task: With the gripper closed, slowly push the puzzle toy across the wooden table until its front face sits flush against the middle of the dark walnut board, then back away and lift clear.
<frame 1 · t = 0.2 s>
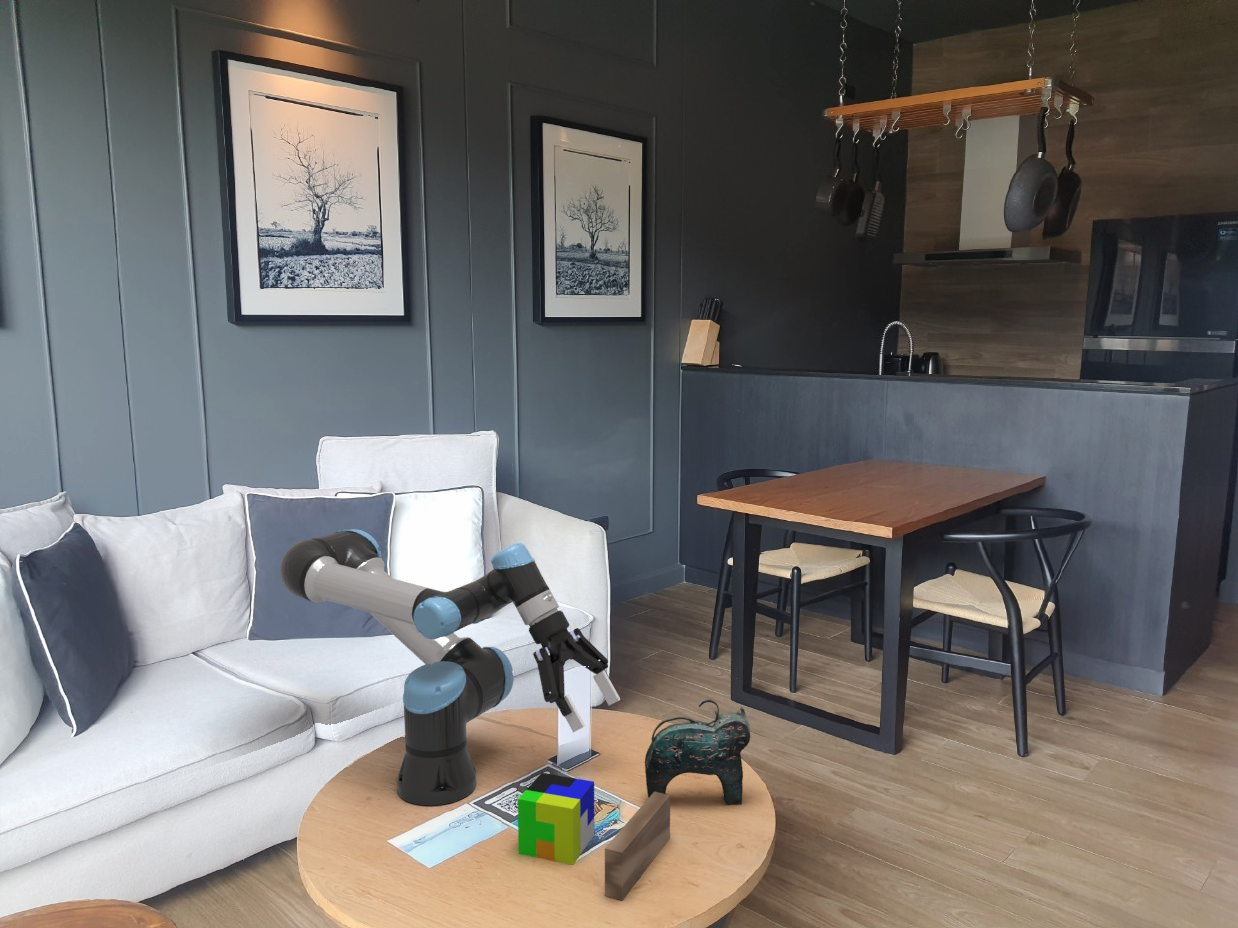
hand: (597, 715, 176), 15 cm above the table, tool tilted 35°, fingers open, 13 cm apart
ceramic cat: (697, 803, 174), on the table
puzzle toy: (557, 845, 159), on the table
walnut board: (639, 865, 153), on the table
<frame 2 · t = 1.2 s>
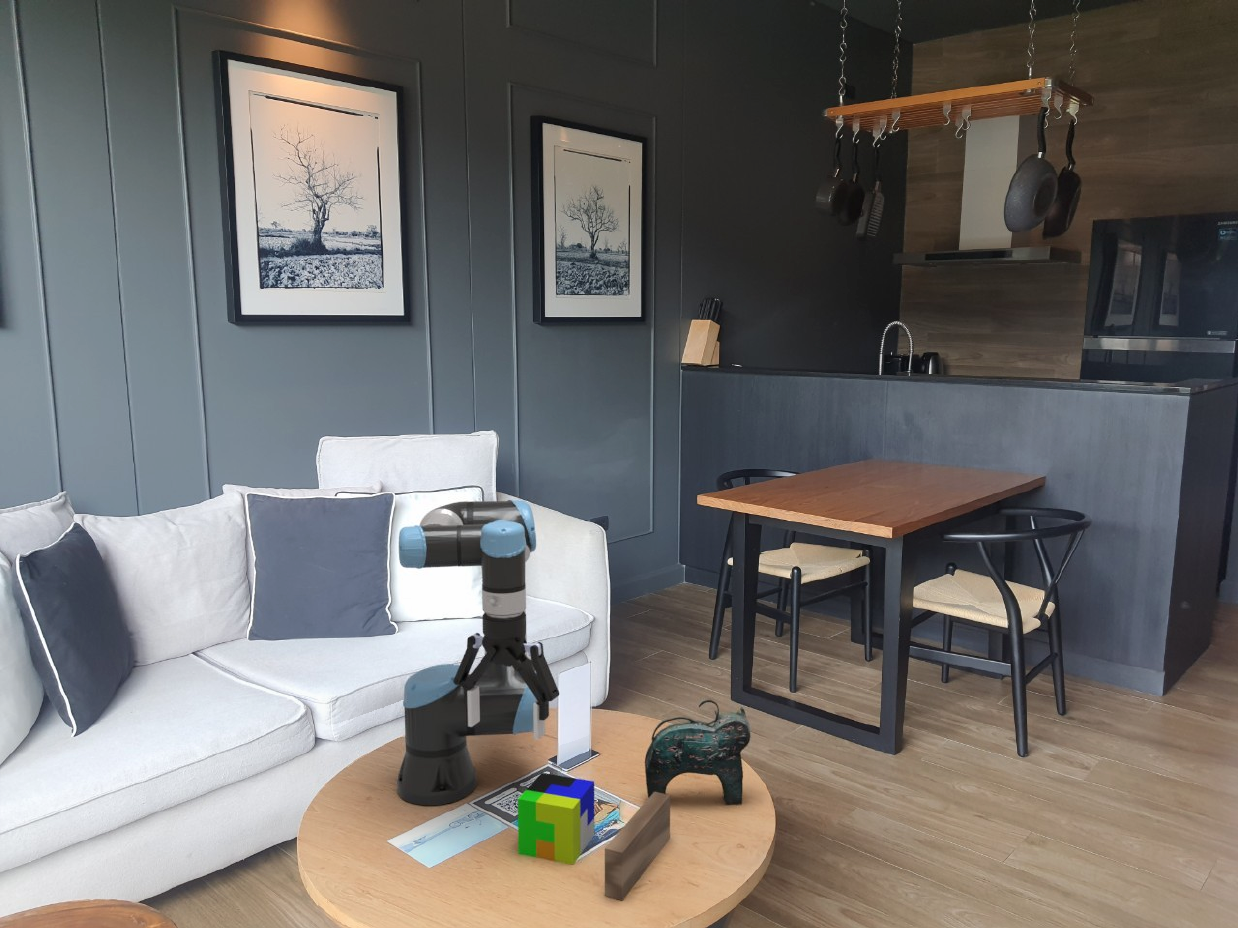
hand: (506, 730, 162), 19 cm above the table, tool pointing down, fingers open, 12 cm apart
nothing on the table moved.
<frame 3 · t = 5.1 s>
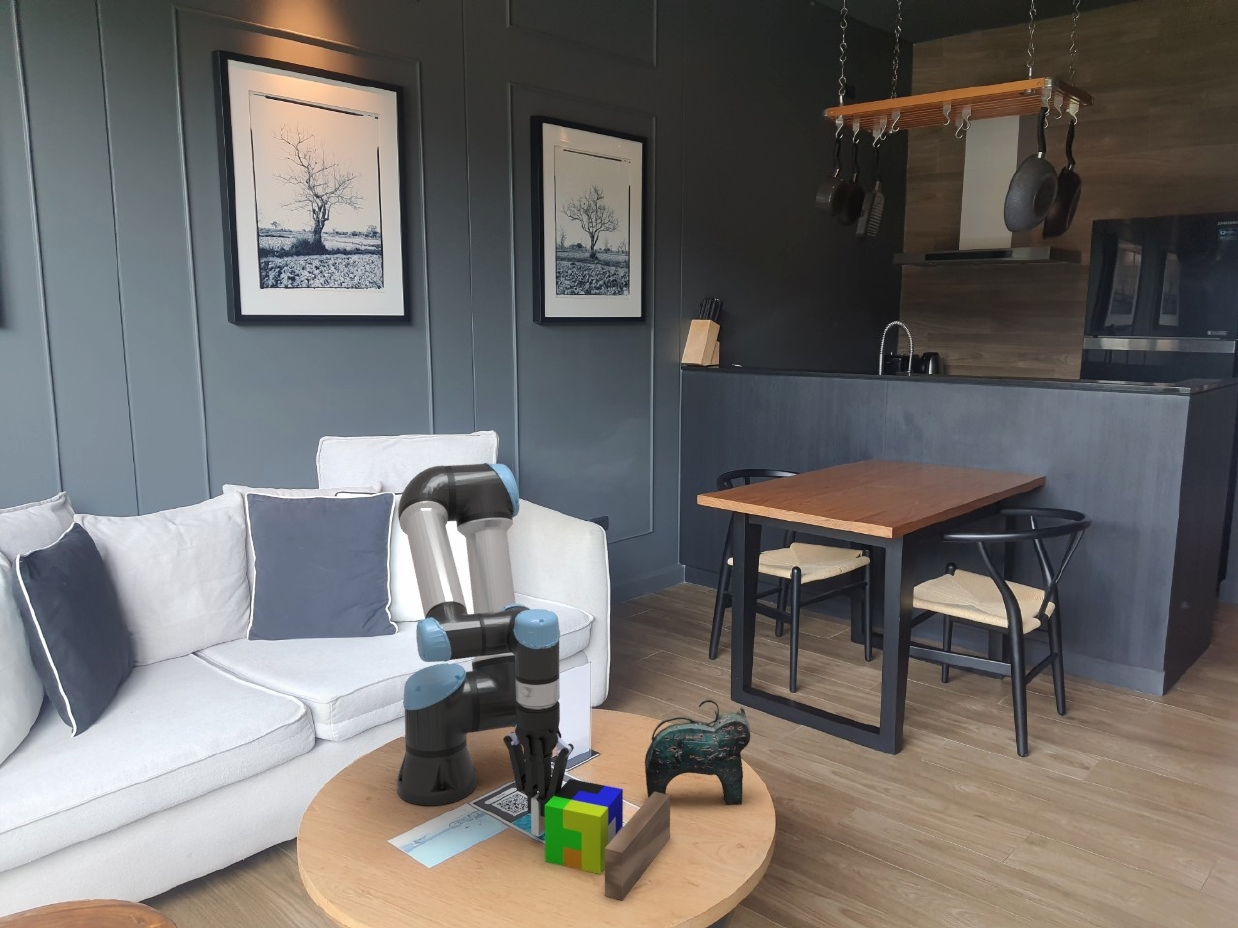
hand: (539, 831, 160), 2 cm above the table, tool pointing down, fingers closed
puzzle toy: (584, 853, 157), on the table, touching hand
everything else where it was.
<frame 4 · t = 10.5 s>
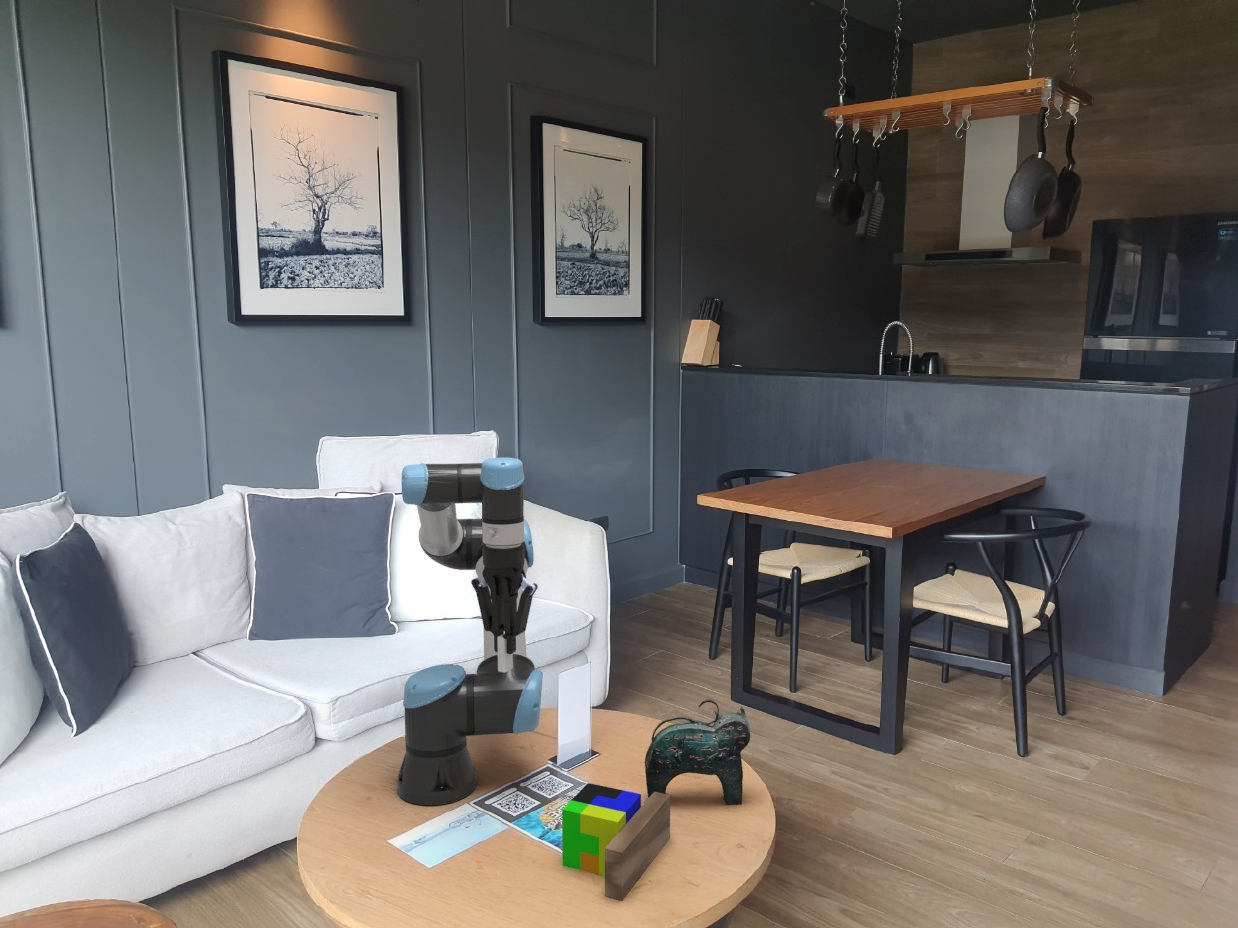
hand: (505, 669, 169), 26 cm above the table, tool pointing down, fingers closed
puzzle toy: (602, 858, 155), on the table
everything else where it was.
at the end: puzzle toy inside the target area on the table beside the walnut board (0.4 cm from its centre), on the table; puzzle toy tilted 0° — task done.
